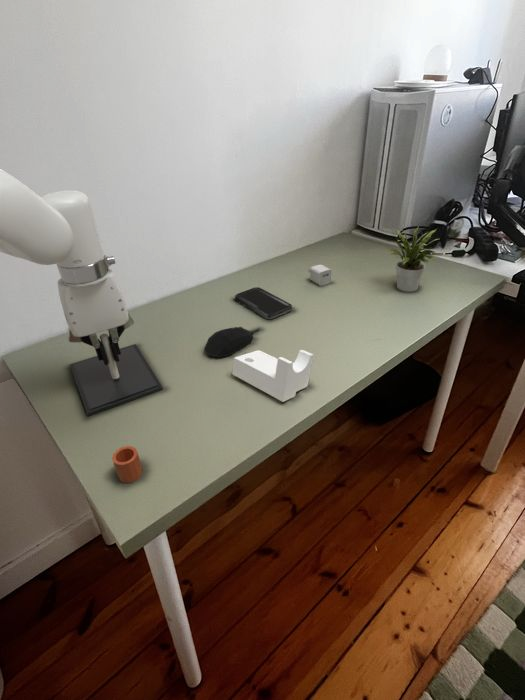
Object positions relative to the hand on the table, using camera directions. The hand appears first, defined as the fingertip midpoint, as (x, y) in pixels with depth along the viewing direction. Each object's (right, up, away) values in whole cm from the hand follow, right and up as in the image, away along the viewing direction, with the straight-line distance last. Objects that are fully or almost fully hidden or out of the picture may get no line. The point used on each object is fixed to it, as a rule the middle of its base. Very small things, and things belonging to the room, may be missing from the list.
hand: (110, 359), depth 82 cm
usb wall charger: (+44, +21, +38) cm, 62 cm away
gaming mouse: (+23, +3, +13) cm, 27 cm away
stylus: (0, -4, +3) cm, 5 cm away
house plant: (+66, +18, +32) cm, 75 cm away
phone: (+29, +13, +27) cm, 42 cm away
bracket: (+31, -4, +1) cm, 31 cm away
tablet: (-1, -4, +4) cm, 6 cm away
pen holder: (+9, -17, -16) cm, 25 cm away
